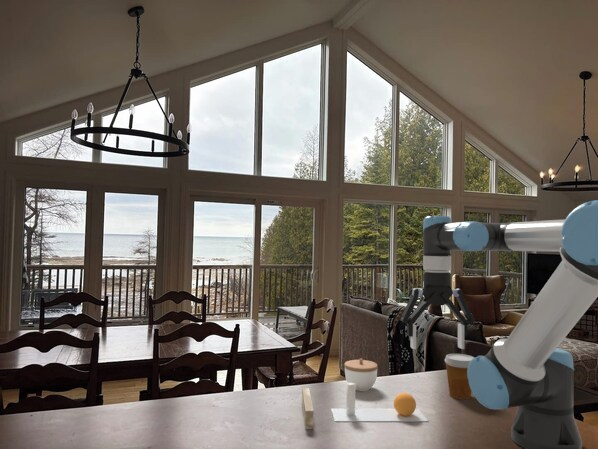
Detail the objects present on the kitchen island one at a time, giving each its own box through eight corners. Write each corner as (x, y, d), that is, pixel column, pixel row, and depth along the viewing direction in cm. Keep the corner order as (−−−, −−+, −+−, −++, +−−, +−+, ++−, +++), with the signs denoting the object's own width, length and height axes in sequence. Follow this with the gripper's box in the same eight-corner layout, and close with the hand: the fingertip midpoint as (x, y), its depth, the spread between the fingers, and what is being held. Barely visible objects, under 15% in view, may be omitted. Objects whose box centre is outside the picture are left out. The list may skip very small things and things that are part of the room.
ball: (419, 414, 129) (419, 392, 129) (410, 421, 124) (410, 398, 124) (399, 409, 133) (399, 388, 133) (390, 415, 128) (390, 393, 128)
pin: (356, 414, 128) (357, 383, 128) (352, 417, 126) (352, 385, 126) (349, 412, 130) (349, 382, 130) (344, 415, 128) (345, 384, 128)
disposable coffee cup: (444, 399, 142) (444, 359, 142) (444, 389, 151) (444, 352, 151) (477, 402, 139) (477, 362, 140) (475, 392, 148) (475, 354, 149)
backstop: (308, 403, 136) (308, 387, 136) (313, 428, 118) (313, 410, 119) (301, 403, 136) (302, 387, 136) (305, 428, 118) (305, 410, 118)
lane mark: (417, 409, 133) (417, 408, 133) (427, 421, 124) (427, 420, 124) (330, 409, 132) (331, 408, 132) (334, 421, 123) (334, 420, 123)
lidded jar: (376, 394, 145) (377, 364, 145) (342, 391, 147) (342, 362, 148) (377, 384, 156) (378, 355, 156) (345, 381, 158) (346, 353, 158)
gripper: (474, 270, 135) (474, 344, 134) (389, 270, 133) (389, 345, 132) (486, 272, 127) (487, 350, 126) (397, 271, 125) (397, 351, 124)
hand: (437, 348), depth 129 cm, fingers open, 13 cm apart
